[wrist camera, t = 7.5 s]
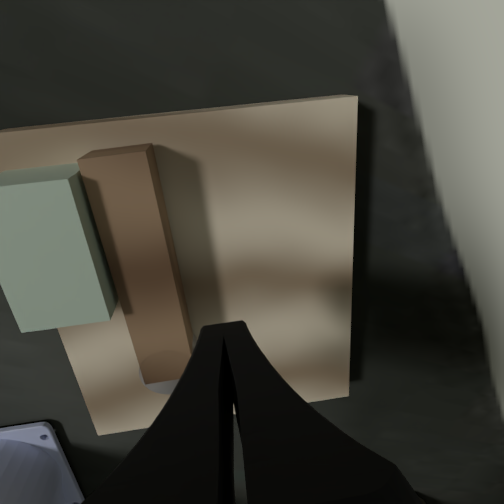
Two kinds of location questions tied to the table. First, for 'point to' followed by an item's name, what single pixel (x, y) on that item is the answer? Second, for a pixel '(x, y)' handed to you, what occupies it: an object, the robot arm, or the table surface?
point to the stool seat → (230, 238)
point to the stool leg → (141, 259)
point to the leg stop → (52, 250)
